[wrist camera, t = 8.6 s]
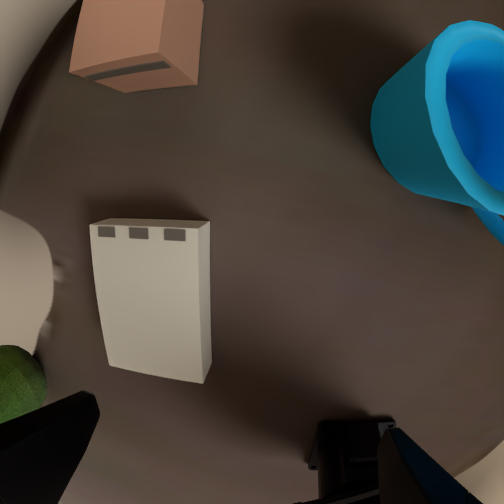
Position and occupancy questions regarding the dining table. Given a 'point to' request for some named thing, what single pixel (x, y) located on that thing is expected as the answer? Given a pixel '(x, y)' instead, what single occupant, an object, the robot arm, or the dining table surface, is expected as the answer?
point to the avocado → (19, 383)
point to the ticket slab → (154, 295)
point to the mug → (448, 121)
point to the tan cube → (138, 43)
